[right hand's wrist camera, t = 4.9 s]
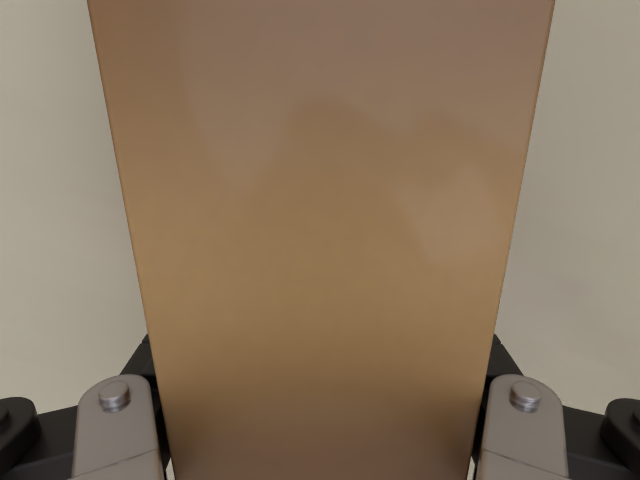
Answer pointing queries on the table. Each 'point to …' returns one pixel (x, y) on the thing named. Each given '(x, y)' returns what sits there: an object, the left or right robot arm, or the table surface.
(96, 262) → the table surface
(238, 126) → the box
